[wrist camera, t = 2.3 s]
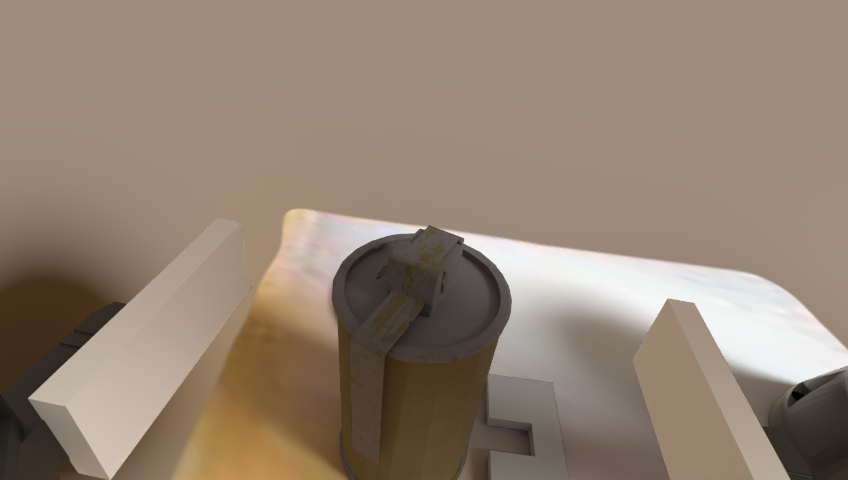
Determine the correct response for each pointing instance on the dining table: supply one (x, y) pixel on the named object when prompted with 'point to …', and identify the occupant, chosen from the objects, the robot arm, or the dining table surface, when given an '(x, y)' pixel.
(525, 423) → the notched board
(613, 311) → the dining table surface
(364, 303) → the canister
